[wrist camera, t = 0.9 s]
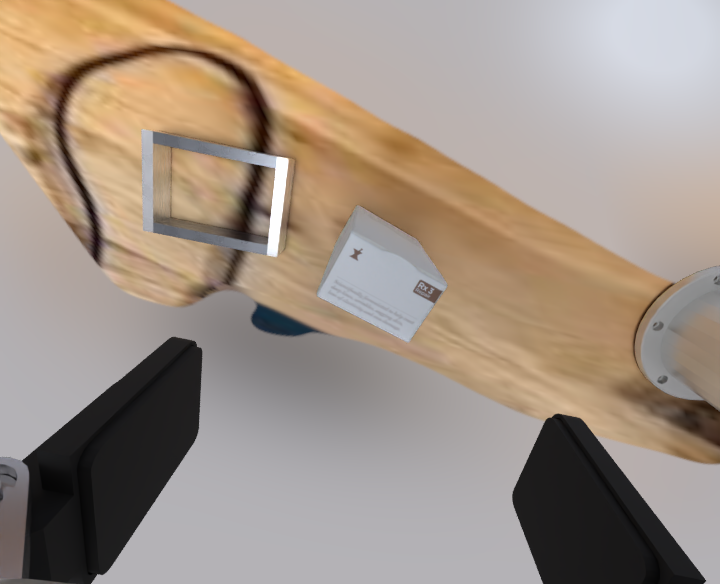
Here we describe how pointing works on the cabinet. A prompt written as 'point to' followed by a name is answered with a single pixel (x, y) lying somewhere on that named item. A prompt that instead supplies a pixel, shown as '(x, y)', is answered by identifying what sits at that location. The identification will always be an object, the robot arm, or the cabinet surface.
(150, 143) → the socket collar
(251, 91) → the cabinet surface
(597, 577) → the robot arm
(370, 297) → the skincare box
